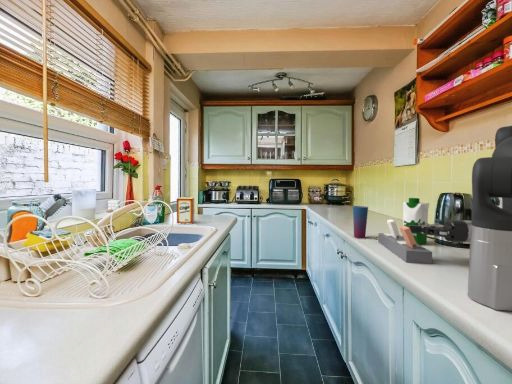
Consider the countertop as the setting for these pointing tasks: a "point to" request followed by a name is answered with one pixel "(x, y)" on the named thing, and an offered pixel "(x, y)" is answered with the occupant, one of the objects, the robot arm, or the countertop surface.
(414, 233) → the milk carton
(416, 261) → the power strip
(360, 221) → the cup
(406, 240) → the rocker terracotta
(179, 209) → the baking soda box
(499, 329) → the countertop surface
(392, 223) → the rocker offwhite
